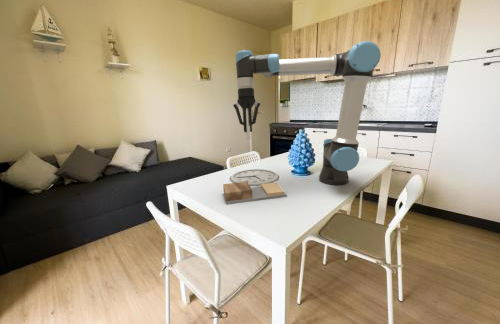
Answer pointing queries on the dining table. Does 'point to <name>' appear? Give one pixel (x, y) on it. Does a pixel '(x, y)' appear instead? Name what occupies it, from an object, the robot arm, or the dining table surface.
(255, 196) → the underlay board
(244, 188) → the brown wooden square block
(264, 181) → the wall clock
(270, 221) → the dining table surface
